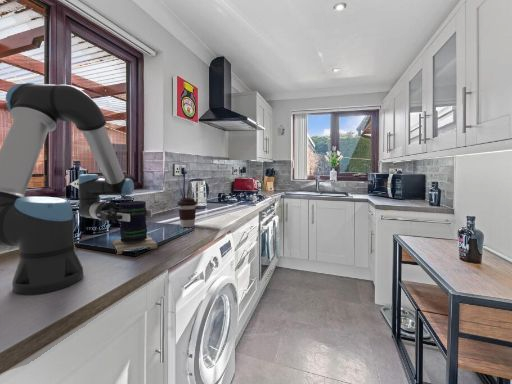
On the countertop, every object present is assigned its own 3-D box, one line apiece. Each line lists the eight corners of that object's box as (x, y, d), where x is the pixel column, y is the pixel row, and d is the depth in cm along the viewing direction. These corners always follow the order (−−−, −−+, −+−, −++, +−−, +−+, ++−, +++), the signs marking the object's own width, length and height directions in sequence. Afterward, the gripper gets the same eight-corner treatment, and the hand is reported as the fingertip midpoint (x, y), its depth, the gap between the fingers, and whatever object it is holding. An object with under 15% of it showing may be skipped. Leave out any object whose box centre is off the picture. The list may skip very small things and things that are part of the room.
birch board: (157, 247, 101) (157, 244, 101) (117, 254, 93) (117, 250, 93) (148, 238, 114) (148, 235, 114) (112, 243, 106) (112, 240, 106)
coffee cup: (174, 227, 135) (173, 199, 134) (184, 223, 145) (184, 197, 143) (190, 229, 133) (190, 200, 131) (200, 225, 142) (200, 198, 141)
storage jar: (136, 243, 98) (135, 204, 96) (114, 241, 100) (112, 203, 98) (152, 236, 107) (151, 201, 106) (131, 235, 109) (130, 200, 108)
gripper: (127, 215, 121) (162, 219, 111) (77, 224, 100) (114, 231, 91) (126, 199, 120) (162, 202, 110) (76, 205, 100) (114, 210, 90)
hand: (140, 215), depth 101 cm, fingers closed on storage jar, 10 cm apart
